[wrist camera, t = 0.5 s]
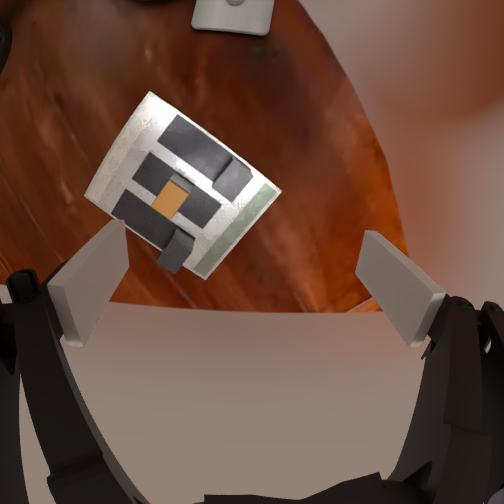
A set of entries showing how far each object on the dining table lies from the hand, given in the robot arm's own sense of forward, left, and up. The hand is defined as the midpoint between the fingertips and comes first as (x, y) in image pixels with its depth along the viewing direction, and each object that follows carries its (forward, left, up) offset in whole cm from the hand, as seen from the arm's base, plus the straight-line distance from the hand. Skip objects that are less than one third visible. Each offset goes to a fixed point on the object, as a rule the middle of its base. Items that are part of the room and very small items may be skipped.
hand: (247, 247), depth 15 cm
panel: (-5, -6, -25) cm, 26 cm away
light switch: (-15, +19, -25) cm, 35 cm away
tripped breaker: (-5, -6, -22) cm, 24 cm away
